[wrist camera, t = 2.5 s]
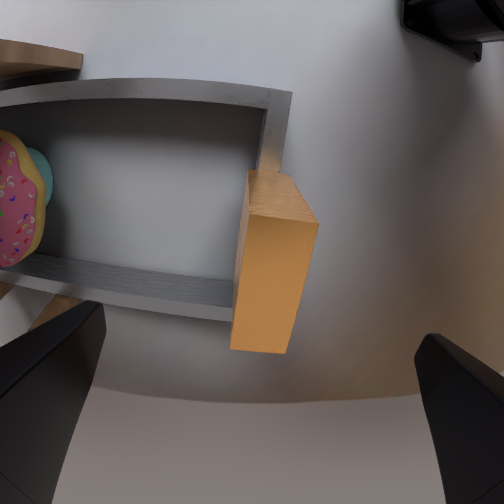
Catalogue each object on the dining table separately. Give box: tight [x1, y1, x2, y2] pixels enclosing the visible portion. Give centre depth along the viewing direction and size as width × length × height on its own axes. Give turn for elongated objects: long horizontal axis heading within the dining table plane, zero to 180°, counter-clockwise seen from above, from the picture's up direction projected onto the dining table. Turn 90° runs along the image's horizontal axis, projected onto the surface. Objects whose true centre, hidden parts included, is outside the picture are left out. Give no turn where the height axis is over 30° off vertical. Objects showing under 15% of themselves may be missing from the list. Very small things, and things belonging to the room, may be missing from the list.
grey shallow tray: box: [0, 78, 319, 354], centre depth 14 cm, size 23×13×10 cm, turn 82°
